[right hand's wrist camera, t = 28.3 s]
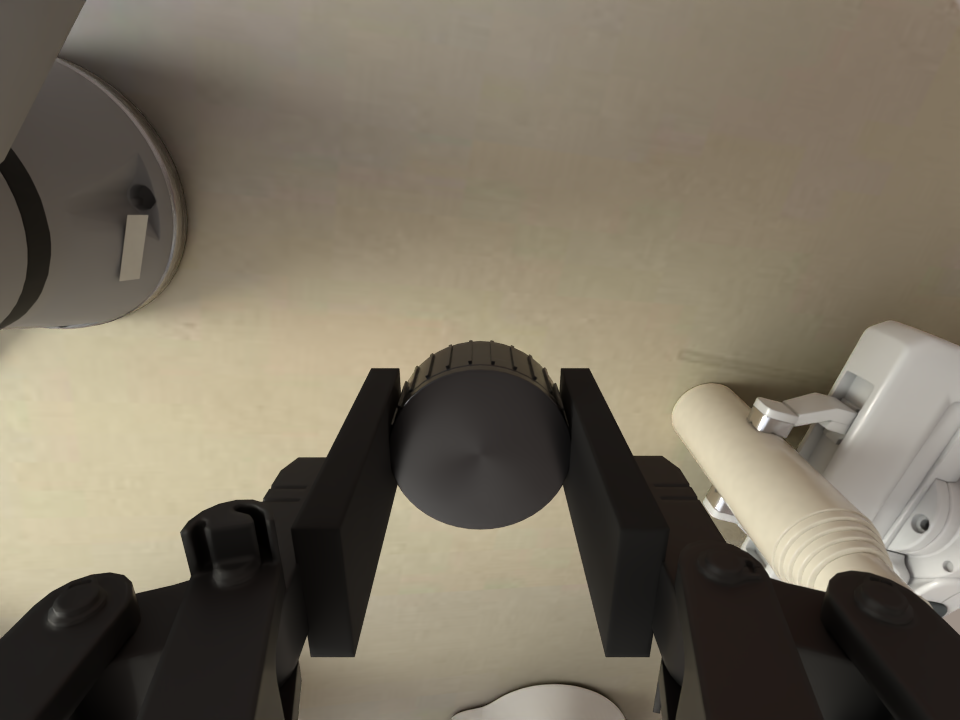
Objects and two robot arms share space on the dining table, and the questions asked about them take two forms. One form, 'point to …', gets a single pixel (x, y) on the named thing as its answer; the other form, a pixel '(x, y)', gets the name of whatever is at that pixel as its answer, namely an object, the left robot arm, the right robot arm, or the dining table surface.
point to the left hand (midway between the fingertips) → (732, 458)
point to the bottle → (778, 494)
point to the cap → (480, 436)
